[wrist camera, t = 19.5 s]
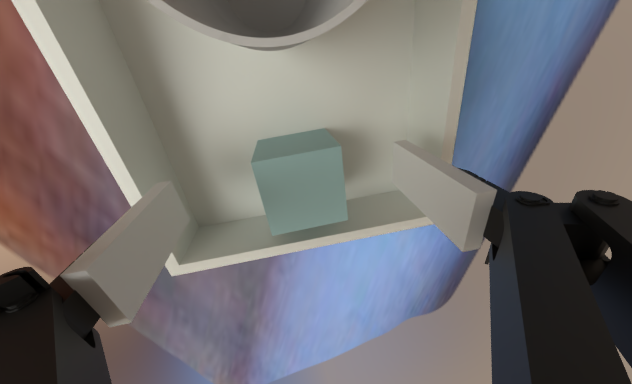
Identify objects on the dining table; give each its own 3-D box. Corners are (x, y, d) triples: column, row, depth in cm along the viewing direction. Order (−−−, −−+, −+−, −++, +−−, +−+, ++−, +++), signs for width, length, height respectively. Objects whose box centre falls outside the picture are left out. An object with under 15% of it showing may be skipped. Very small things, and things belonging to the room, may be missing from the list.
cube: (273, 199, 19) (272, 236, 15) (257, 140, 17) (250, 162, 12) (332, 187, 19) (348, 220, 15) (324, 128, 17) (340, 146, 13)
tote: (15, -160, 10) (-188, -343, 6) (435, -184, 12) (531, -343, 7) (194, 232, 20) (171, 276, 16) (408, 192, 22) (442, 222, 17)
